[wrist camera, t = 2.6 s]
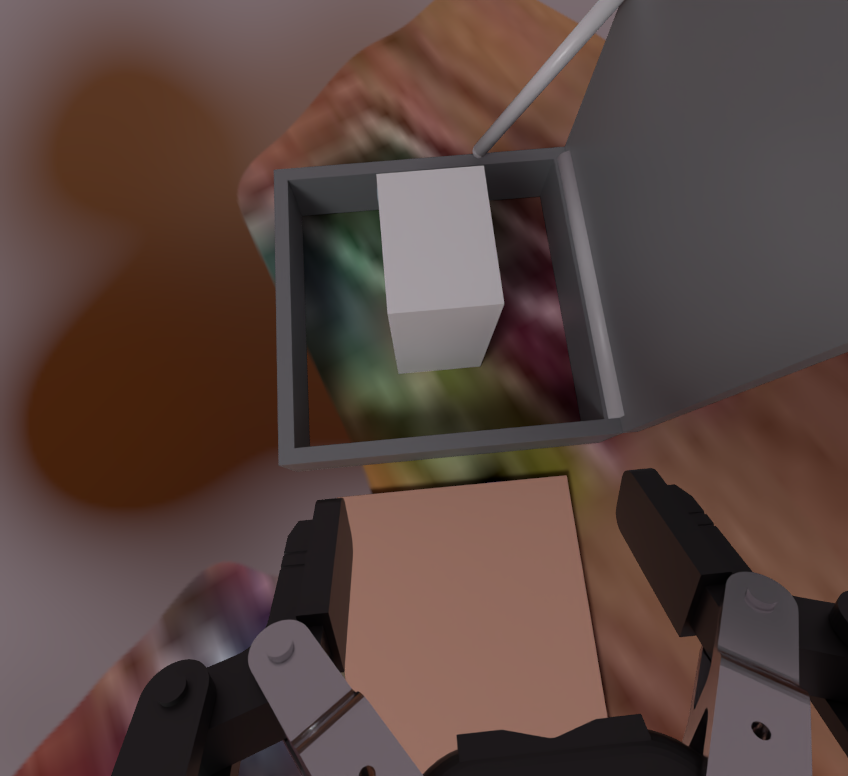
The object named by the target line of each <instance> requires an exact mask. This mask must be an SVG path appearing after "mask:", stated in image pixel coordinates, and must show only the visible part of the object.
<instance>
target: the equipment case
mask: <svg viewBox="0 0 848 776" xmlns="http://www.w3.org/2000/svg"><path fill="white" fill-rule="evenodd" d="M618 7H619V8H618ZM617 8H618V10H617V13H616V16H615V18H614V21H613V23H612V26H611V29H610V31H609V34H608V36H607V39H606V41H605V44H604V46H603V49H602V52H601V54H600V57H599V59H598V62H597V65H596V67H595V70H594V72H593V75H592V78H591V80H590V83H589V85H588V88H587V91H586V93H585V96H584V98H583V101H582V104H581V106H580V109H579V111H578V114H577V117H576V119H575V122H574V124H573V127H572V130H571V132H570V135H569V137H568V140H567V143H566V145H565V147H556V148H543V149H531V150H518V151H506V152H493V153H487V152H488V151H489V150H490V149H491V148H492V147H493V146H494V144H495V143H496V142H497V141H498V140H499V139H500V138H501V137H502V136H503V134H504V133H505V132H506V131H507V130H508V129H509V128H510V127H511V126H512V124H513V123H514V122H515V121H516V120H517V119H518V118H519V117H520V116H521V114H522V113H523V112H524V111H525V110H526V109H527V108H528V107H529V106H530V104H531V103H532V102H533V101H534V100H535V99H536V98H537V97H538V96H539V94H540V93H541V92H542V91H543V90H544V89H545V88H546V87H547V86H548V84H549V83H550V82H551V81H552V80H553V79H554V78H555V77H556V76H557V74H558V73H559V72H560V71H561V70H562V69H563V68H564V67H565V66H566V65H567V63H568V62H569V61H570V60H571V59H572V58H573V57H574V56H575V55H576V53H577V52H578V51H579V50H580V49H581V48H582V47H583V46H584V45H585V43H586V42H587V41H588V40H589V39H590V38H591V37H592V36H593V35H594V33H595V32H596V31H597V30H598V29H599V28H600V27H601V26H602V25H603V23H604V22H605V21H606V20H607V19H608V18H609V17H610V16H611V15H612V13H613V12H614V11H615V10H616V9H617ZM471 166H484V171H485V177H486V184H487V191H488V197H489V201H490V200H502V199H514V198H526V197H539V196H540V198H541V204H542V209H543V215H544V220H545V226H546V231H547V237H548V242H549V248H550V253H551V259H552V264H553V270H554V275H555V281H556V286H557V292H558V297H559V303H560V308H561V314H562V319H563V325H564V330H565V336H566V341H567V347H568V352H569V358H570V364H571V369H572V375H573V380H574V386H575V391H576V397H577V402H578V408H579V413H580V419H581V421H579V422H569V423H558V424H547V425H537V426H526V427H515V428H505V429H494V430H483V431H473V432H462V433H451V434H441V435H430V436H419V437H409V438H398V439H387V440H377V441H366V442H355V443H345V444H334V445H323V446H313V447H310V439H309V438H310V437H309V406H308V378H307V377H308V375H307V346H306V316H305V286H304V256H303V226H302V216H306V215H319V214H331V213H343V212H355V211H368V210H379V205H378V198H377V176H376V174H384V173H397V172H409V171H421V170H434V169H446V168H459V167H471ZM274 207H275V267H276V324H277V326H276V327H277V384H278V385H277V387H278V442H279V443H278V446H279V466H282V467H285V468H288V469H291V470H294V471H306V470H317V469H327V468H338V467H348V466H359V465H369V464H380V463H391V462H401V461H412V460H422V459H433V458H443V457H454V456H464V455H475V454H485V453H496V452H506V451H517V450H527V449H538V448H548V447H559V446H569V445H580V444H591V443H599V442H602V441H604V440H607V439H609V438H612V437H614V436H617V435H619V434H622V433H628V432H638V431H641V430H644V429H646V428H649V427H651V426H654V425H657V424H659V423H662V422H665V421H667V420H670V419H672V418H675V417H678V416H680V415H683V414H686V413H688V412H691V411H694V410H696V409H699V408H701V407H704V406H707V405H709V404H712V403H715V402H717V401H720V400H722V399H725V398H728V397H730V396H733V395H736V394H738V393H741V392H743V391H746V390H749V389H751V388H754V387H757V386H759V385H762V384H765V383H767V382H770V381H772V380H775V379H778V378H780V377H783V376H786V375H788V374H791V373H793V372H796V371H799V370H801V369H804V368H807V367H809V366H812V365H814V364H817V363H820V362H822V361H825V360H828V359H830V358H833V357H836V356H838V355H841V354H843V353H846V352H848V0H599V1H598V2H597V3H596V4H595V5H594V6H593V8H592V9H591V10H590V11H589V12H588V13H587V14H586V16H585V17H584V18H583V19H582V20H581V21H580V23H579V24H578V25H577V26H576V27H575V28H574V30H573V31H572V32H571V33H570V34H569V36H568V37H567V38H566V39H565V40H564V41H563V43H562V44H561V45H560V46H559V47H558V48H557V50H556V51H555V52H554V53H553V54H552V55H551V57H550V58H549V59H548V60H547V61H546V62H545V64H544V65H543V66H542V67H541V68H540V70H539V71H538V72H537V73H536V74H535V75H534V77H533V78H532V79H531V80H530V81H529V82H528V84H527V85H526V86H525V87H524V88H523V89H522V91H521V92H520V93H519V94H518V95H517V96H516V98H515V99H514V100H513V101H512V102H511V103H510V105H509V106H508V107H507V108H506V109H505V111H504V112H503V113H502V114H501V115H500V116H499V118H498V119H497V120H496V121H495V122H494V123H493V125H492V126H491V127H490V128H489V129H488V130H487V132H486V133H485V134H484V135H483V136H482V137H481V139H480V140H479V141H478V142H477V143H476V144H475V146H474V147H473V154H468V155H455V156H443V157H430V158H417V159H405V160H392V161H380V162H367V163H354V164H342V165H329V166H317V167H304V168H291V169H279V170H274Z"/></svg>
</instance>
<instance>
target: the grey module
mask: <svg viewBox="0 0 848 776" xmlns="http://www.w3.org/2000/svg"><path fill="white" fill-rule="evenodd" d="M376 176H377V198H378V205H379V213H380V225H381V237H382V250H383V262H384V274H385V287H386V299H387V311H388V318H389V324H390V329H391V335H392V340H393V346H394V351H395V357H396V362H397V368H398V373H399V374H401V373H413V372H424V371H435V370H446V369H457V368H468V367H479V366H481V363H482V360H483V358H484V355H485V353H486V350H487V348H488V345H489V342H490V340H491V337H492V335H493V332H494V329H495V327H496V324H497V322H498V319H499V316H500V314H501V311H502V309H503V306H504V298H503V291H502V285H501V278H500V271H499V265H498V258H497V251H496V244H495V238H494V231H493V224H492V218H491V211H490V204H489V197H488V191H487V184H486V177H485V171H484V166H471V167H459V168H446V169H434V170H421V171H409V172H397V173H384V174H376Z"/></svg>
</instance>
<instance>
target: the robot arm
mask: <svg viewBox="0 0 848 776" xmlns="http://www.w3.org/2000/svg"><path fill="white" fill-rule="evenodd" d="M616 519H617V523H618V527H619V529H620V532H621V533H622V535H623V537H624V539H625V541H626V542H627V544H628V546H629V548H630V550H631V551H632V553H633V555H634V557H635V558H636V560H637V562H638V564H639V566H640V567H641V569H642V571H643V573H644V575H645V576H646V578H647V580H648V582H649V583H650V585H651V587H652V589H653V591H654V592H655V594H656V596H657V598H658V600H659V601H660V603H661V605H662V607H663V608H664V610H665V612H666V614H667V616H668V617H669V619H670V621H671V623H672V625H673V626H674V628H675V630H676V632H677V633H678V635H679V637H686V636H695V635H696V636H697V637H698V639H699V641H700V642H701V644H702V646H701V649H700V652H699V658H698V665H697V671H696V677H695V683H694V689H693V695H692V701H691V707H690V713H689V718H688V723H687V727H686V730H685V734H684V737H683V741H682V742H680V741H678V740H677V739H674V738H672V737H670V736H667V735H665V734H662V733H659V732H656V731H653V730H648V729H647V727H646V725H645V723H644V720H643V718H642V715H641V714H635V715H626V716H618V717H609V718H600V719H595V720H592V721H590V722H588V723H586V724H584V725H582V726H579V727H577V728H575V729H573V730H571V731H569V732H566V733H564V734H562V735H560V736H558V737H555V738H546V737H541V736H535V735H530V734H524V733H519V732H513V731H508V730H493V731H484V732H475V733H467V734H458V735H456V736H457V750H454V751H452V752H450V753H448V754H446V755H445V756H443V757H442V758H440V759H439V760H437V761H436V762H435V763H434V764H433V765H431V766H430V767H429V768H428V769H427V770H426V771H425V772H424V773H423V774H422V773H421V772H420V770H419V769H418V768H417V766H416V765H415V763H414V762H413V761H412V759H411V758H410V757H409V755H408V754H407V753H406V751H405V750H404V749H403V747H402V746H401V744H400V743H399V742H398V740H397V739H396V738H395V736H394V735H393V734H392V732H391V731H390V730H389V728H388V727H387V726H386V724H385V723H384V721H383V720H382V719H381V717H380V716H379V715H378V713H377V712H376V711H375V709H374V708H373V707H372V705H371V704H370V703H369V701H368V700H367V699H366V698H365V696H364V695H363V694H362V693H360V692H359V691H357V692H355V691H354V690H353V689H352V688H351V687H350V685H349V684H348V683H347V681H346V680H345V679H344V677H343V676H342V674H341V673H340V672H344V671H345V658H346V644H347V631H348V617H349V604H350V590H351V577H352V563H353V542H352V535H351V530H350V525H349V520H348V515H347V510H346V505H345V501H344V498H335V499H325V500H317V502H316V504H315V511H314V516H313V520H305V521H299V522H298V523H297V524H296V526H295V527H294V528H293V530H292V531H291V533H290V534H289V535H288V538H287V542H286V547H285V551H284V556H283V560H282V564H281V570H280V573H279V577H278V581H277V586H276V590H275V594H274V599H273V603H272V607H271V612H270V616H269V620H268V623H267V626H266V628H265V629H264V630H263V631H262V632H261V633H260V634H259V635H258V636H257V637H256V639H255V640H254V642H253V643H252V645H251V646H250V647H249V648H248V649H246V650H245V651H243V652H242V653H240V654H238V655H236V656H233V657H231V658H229V659H226V660H224V661H222V662H219V663H217V664H215V665H212V666H210V667H207V668H206V667H205V666H204V664H202V663H201V662H199V661H197V660H191V659H188V660H181V661H177V662H175V663H172V664H170V665H169V666H167V667H165V668H164V669H162V670H161V671H160V672H158V673H157V674H156V675H155V676H154V677H153V678H152V679H151V680H150V681H149V683H148V684H147V685H146V687H145V688H144V690H143V692H142V694H141V696H140V698H139V701H138V703H137V706H136V709H135V712H134V714H133V717H132V720H131V723H130V725H129V728H128V731H127V734H126V736H125V739H124V742H123V744H122V747H121V750H120V753H119V755H118V758H117V761H116V764H115V766H114V769H113V772H112V775H111V776H238V773H239V767H240V761H241V760H243V759H245V758H247V757H249V756H251V755H253V754H255V753H257V752H259V751H261V750H263V749H265V748H267V747H269V746H271V745H273V744H275V743H278V742H280V741H282V740H283V742H284V744H285V746H286V748H287V749H288V751H289V753H290V755H291V757H292V759H293V760H294V762H295V764H296V766H297V768H298V770H299V771H300V773H301V775H302V776H812V750H811V712H810V701H811V702H812V704H813V705H814V707H815V708H816V710H817V711H818V713H819V714H820V716H821V717H822V719H823V720H824V722H825V723H826V725H827V726H828V728H829V729H830V731H831V732H832V734H833V736H834V737H835V739H836V740H837V742H838V743H839V745H840V746H841V748H842V749H843V751H844V752H845V754H846V755H847V757H848V591H846V592H844V593H842V594H841V595H840V596H839V598H838V599H837V601H836V603H830V602H824V601H818V600H812V599H807V598H801V597H796V596H792V595H791V594H790V593H789V592H788V591H787V590H786V589H785V588H784V587H783V586H782V585H780V584H779V583H777V582H776V581H774V580H772V579H770V578H769V577H766V576H764V575H761V574H757V573H753V572H752V571H751V569H750V568H749V567H748V566H747V564H746V563H745V562H744V561H743V559H742V558H741V557H740V556H739V554H738V553H737V552H736V551H735V549H734V548H733V547H732V546H731V544H730V543H729V542H728V541H727V539H726V538H725V537H724V536H723V534H722V533H721V532H720V531H719V529H718V528H717V527H716V526H714V523H713V522H712V521H711V519H710V518H709V517H708V516H707V514H704V511H703V509H702V508H701V507H700V506H699V504H698V503H697V502H696V501H695V499H694V498H693V497H692V496H691V495H689V494H688V493H686V492H685V491H684V490H682V489H681V488H679V487H678V486H676V485H667V484H666V483H665V482H664V480H663V479H662V478H661V476H660V475H659V474H658V472H657V471H656V470H655V469H653V468H648V469H638V470H628V471H625V472H624V473H623V476H622V480H621V486H620V491H619V496H618V502H617V507H616Z"/></svg>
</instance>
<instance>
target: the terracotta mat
mask: <svg viewBox="0 0 848 776" xmlns="http://www.w3.org/2000/svg"><path fill="white" fill-rule="evenodd" d="M337 498H344V501H345V505H346V510H347V515H348V520H349V525H350V530H351V535H352V542H353V563H352V577H351V590H350V604H349V617H348V631H347V644H346V658H345V680H346V681H347V683H348V684H349V685H350V687H351V688H352V689H353V690H354V691H355V692H357V691H359V692H360V693H362V694H363V695H364V696H365V698H366V699H367V700H368V701H369V703H370V704H371V705H372V707H373V708H374V709H375V711H376V712H377V713H378V715H379V716H380V717H381V719H382V720H383V721H384V723H385V724H386V726H387V727H388V728H389V730H390V731H391V732H392V734H393V735H394V736H395V738H396V739H397V740H398V742H399V743H400V744H401V746H402V747H403V749H404V750H405V751H406V753H407V754H408V755H409V757H410V758H411V759H412V761H413V762H414V763H415V765H416V766H417V768H418V769H419V770H420V772H421V773H422V774H423V773H424V772H425V771H426V770H427V769H428V768H429V767H430V766H431V765H433V764H434V763H435V762H436V761H437V760H439V759H440V758H442V757H443V756H445V755H446V754H448V753H450V752H452V751H454V750H457V736H456V735H458V734H467V733H475V732H484V731H493V730H508V731H513V732H519V733H524V734H530V735H535V736H541V737H546V738H555V737H558V736H560V735H562V734H564V733H566V732H569V731H571V730H573V729H575V728H577V727H579V726H582V725H584V724H586V723H588V722H590V721H592V720H595V719H600V718H607V712H606V706H605V700H604V694H603V688H602V682H601V676H600V670H599V664H598V658H597V652H596V646H595V640H594V635H593V629H592V623H591V617H590V611H589V605H588V599H587V593H586V587H585V581H584V575H583V569H582V563H581V557H580V551H579V546H578V540H577V534H576V528H575V522H574V516H573V510H572V504H571V498H570V492H569V486H568V480H567V475H565V476H555V477H544V478H534V479H523V480H513V481H503V482H492V483H482V484H472V485H461V486H451V487H441V488H430V489H420V490H409V491H399V492H389V493H378V494H368V495H358V496H348V497H337Z"/></svg>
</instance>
